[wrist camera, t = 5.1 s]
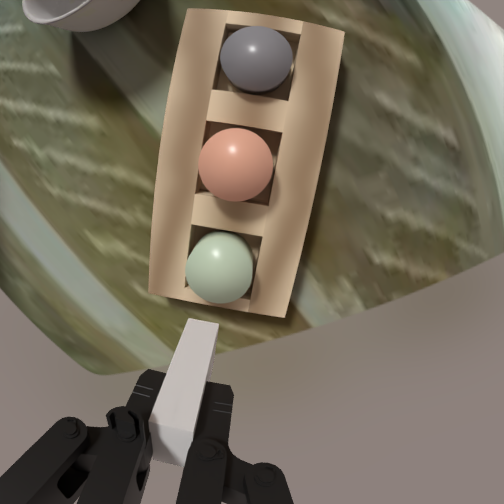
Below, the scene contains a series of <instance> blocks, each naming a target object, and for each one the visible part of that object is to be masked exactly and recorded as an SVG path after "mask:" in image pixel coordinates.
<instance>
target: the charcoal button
mask: <svg viewBox="0 0 504 504" xmlns="http://www.w3.org/2000/svg"><path fill="white" fill-rule="evenodd" d="M292 59H293V56H292V50H291V47H290V45H289V43H288V41H287V40H286V39H285V38H284V37H283V36H282V35H281V34H280V33H278V32H277V31H275V30H273V29H271V28H268V27H263V26H250V27H245V28H242V29H240V30H238V31H236V32H234V33H233V34H232V35H231V36H229V37H228V39H227V40H226V41H225V43H224V44H223V47H222V49H221V54H220V61H221V65H222V68H223V70H224V72H225V74H226V76H227V77H228V79H229V81H230V82H231V83H232V85H233V86H234V87H236V88H237V89H238V90H240V91H242V92H244V93H247V94H251V95H263V94H267V93H270V92H273V91H274V90H276V89H278V88H279V87H280V86H281V85H282V84H283V83H284V81H285V80H286V78H287V76H288V73H289V71H290V68H291V65H292Z"/></svg>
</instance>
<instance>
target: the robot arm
mask: <svg viewBox="0 0 504 504" xmlns="http://www.w3.org/2000/svg"><path fill="white" fill-rule="evenodd" d="M218 327H219V324H217V323H211V322H206V321H201V320H196V319H191V318H189V319H188V321H187V323H186V326H185V328H184V331H183V333H182V336H181V338H180V341H179V343H178V346H177V348H176V351H175V353H174V356H173V358H172V361H171V363H170V366H169V369H168V371H167V373H163V372H159V371H154V370H151V369H148V370H147V371H145V372H144V373H143V374H141V376H140V377H139V379H138V381H137V383H136V386H135V387H134V390H133V393H132V394H131V396H130V398H129V400H128V402H127V405H126V407H124V406H121V407H116V408H113V409H111V410H110V411H109V412H108V413H107V414H106V417H107V421H108V425H109V426H108V427H89V426H86V425H85V424H84V423H83V422H82V421H81V420H79V419H77V418H75V417H65V418H62V419H60V420H59V421H57V422H56V423H55V424H54V425H53V426H52V427H51V428H50V429H49V430H48V431H47V432H46V433H45V434H44V435H43V436H42V437H41V438H40V439H39V440H38V441H37V442H36V443H35V444H34V445H32V447H30V448H29V450H27V451H26V452H25V453H24V454H23V455H22V456H21V457H20V458H19V459H18V460H17V461H16V462H15V463H14V464H13V465H12V466H11V467H10V468H9V469H8V470H7V471H6V472H5V473H4V474H3V475H2V476H1V477H0V504H74V502H75V501H76V500H77V499H78V497H79V496H80V497H79V499H78V502H77V504H140V503H141V499H142V496H143V493H144V489H145V486H146V482H147V479H148V476H149V472H150V464H149V463H150V460H151V457H152V455H153V460H157V461H161V462H165V463H170V464H173V465H178V466H183V467H184V470H183V475H182V479H181V483H180V488H179V492H178V496H177V501H176V504H221V501H222V502H224V503H227V504H294V503H293V500H292V497H291V494H290V491H289V488H288V485H287V482H286V479H285V476H284V474H283V472H282V471H281V469H279V468H278V467H277V466H276V465H273V464H270V463H257V464H254V465H252V464H250V463H247V462H245V461H242V460H240V459H239V458H237V457H236V456H234V455H233V454H232V452H231V451H230V449H229V446H228V438H229V430H230V422H231V413H232V405H233V398H234V397H233V396H234V394H233V392H232V389H231V387H230V385H224V384H219V383H213V382H210V377H211V372H212V368H213V363H214V355H215V348H216V341H217V334H218Z"/></svg>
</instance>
